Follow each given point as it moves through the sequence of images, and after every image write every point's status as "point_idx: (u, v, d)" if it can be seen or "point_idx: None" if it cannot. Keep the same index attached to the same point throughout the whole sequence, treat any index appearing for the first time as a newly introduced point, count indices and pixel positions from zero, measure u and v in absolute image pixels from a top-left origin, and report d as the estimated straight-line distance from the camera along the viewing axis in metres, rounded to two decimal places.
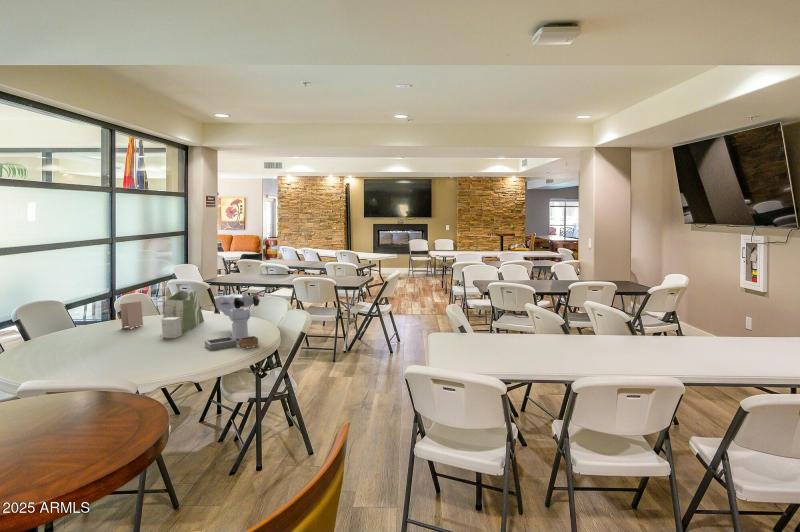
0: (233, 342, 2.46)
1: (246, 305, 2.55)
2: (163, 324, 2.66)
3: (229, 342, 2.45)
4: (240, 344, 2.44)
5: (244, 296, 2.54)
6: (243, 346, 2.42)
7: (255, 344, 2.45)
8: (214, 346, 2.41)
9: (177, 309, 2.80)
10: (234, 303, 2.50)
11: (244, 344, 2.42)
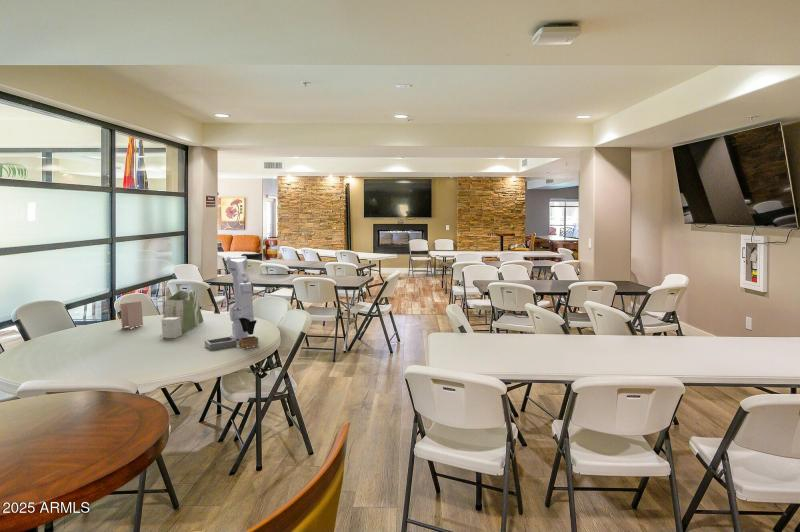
0: (233, 342, 2.46)
1: None
2: (163, 324, 2.66)
3: (229, 342, 2.45)
4: (240, 344, 2.44)
5: (241, 317, 2.43)
6: (243, 346, 2.42)
7: (255, 344, 2.45)
8: (214, 346, 2.41)
9: (177, 309, 2.80)
10: None
11: (244, 344, 2.42)
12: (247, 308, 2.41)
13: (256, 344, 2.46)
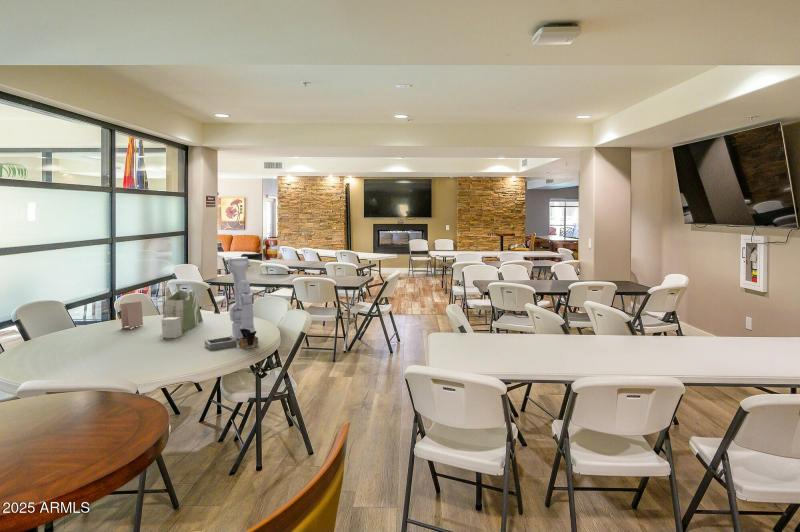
0: (233, 342, 2.46)
1: None
2: (163, 324, 2.66)
3: (229, 342, 2.45)
4: (240, 344, 2.44)
5: (242, 328, 2.44)
6: (243, 346, 2.42)
7: (255, 344, 2.45)
8: (214, 346, 2.41)
9: (177, 309, 2.80)
10: None
11: (244, 344, 2.42)
12: (248, 319, 2.42)
13: (256, 344, 2.46)
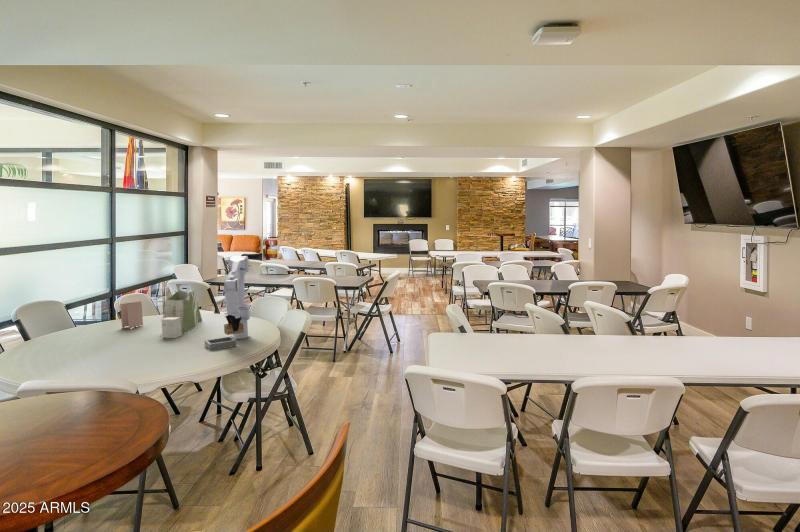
0: (233, 342, 2.46)
1: None
2: (163, 324, 2.66)
3: (229, 342, 2.45)
4: (225, 330, 2.44)
5: None
6: (228, 332, 2.42)
7: (240, 330, 2.46)
8: (214, 346, 2.41)
9: (176, 309, 2.80)
10: None
11: (229, 330, 2.42)
12: (233, 305, 2.42)
13: (241, 330, 2.46)
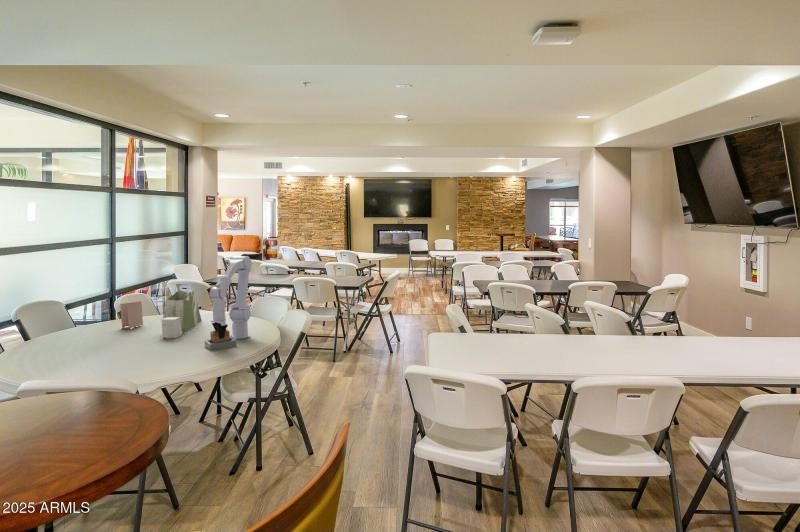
0: (233, 342, 2.46)
1: None
2: (163, 324, 2.66)
3: (229, 342, 2.45)
4: (211, 337, 2.45)
5: None
6: (214, 339, 2.43)
7: (226, 337, 2.47)
8: (214, 346, 2.41)
9: (176, 309, 2.80)
10: None
11: (215, 337, 2.43)
12: (219, 312, 2.43)
13: (227, 337, 2.47)
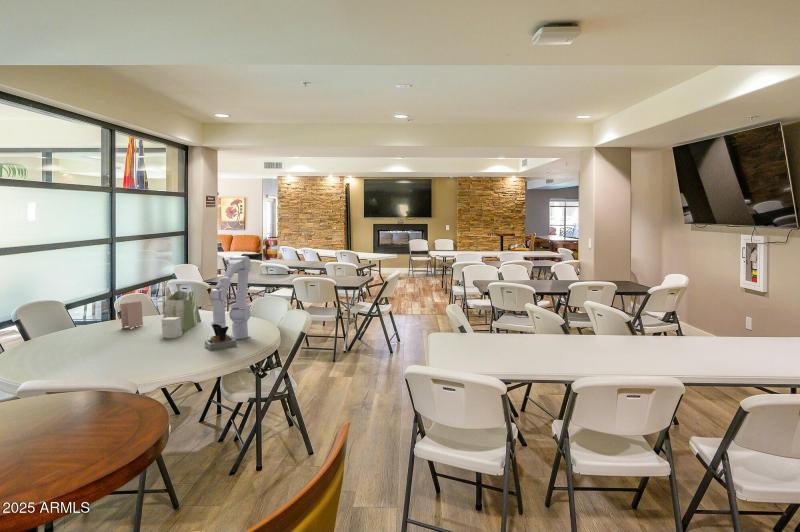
0: (233, 342, 2.46)
1: None
2: (163, 324, 2.66)
3: (229, 342, 2.45)
4: (212, 342, 2.46)
5: None
6: None
7: None
8: (214, 346, 2.41)
9: (177, 309, 2.80)
10: None
11: (215, 342, 2.44)
12: (219, 314, 2.44)
13: None
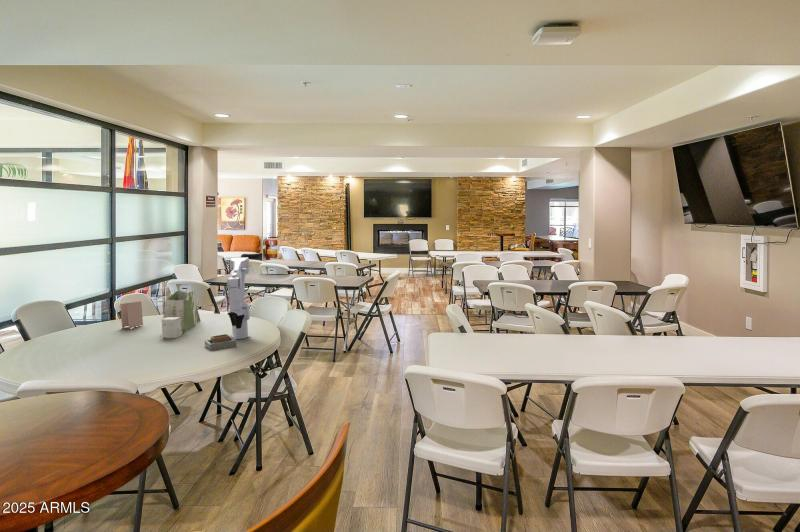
0: (233, 342, 2.46)
1: None
2: (163, 324, 2.66)
3: (229, 342, 2.45)
4: (212, 342, 2.46)
5: None
6: None
7: None
8: (214, 346, 2.41)
9: (177, 309, 2.80)
10: None
11: (215, 342, 2.44)
12: (235, 302, 2.46)
13: None
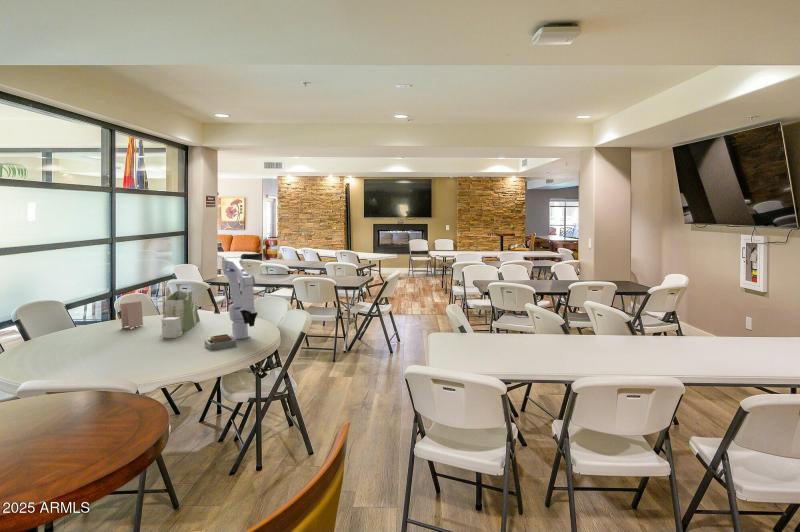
0: (233, 342, 2.46)
1: None
2: (163, 324, 2.66)
3: (229, 342, 2.45)
4: (212, 342, 2.46)
5: None
6: None
7: None
8: (214, 346, 2.41)
9: (176, 309, 2.80)
10: None
11: (215, 342, 2.44)
12: (248, 301, 2.49)
13: None
